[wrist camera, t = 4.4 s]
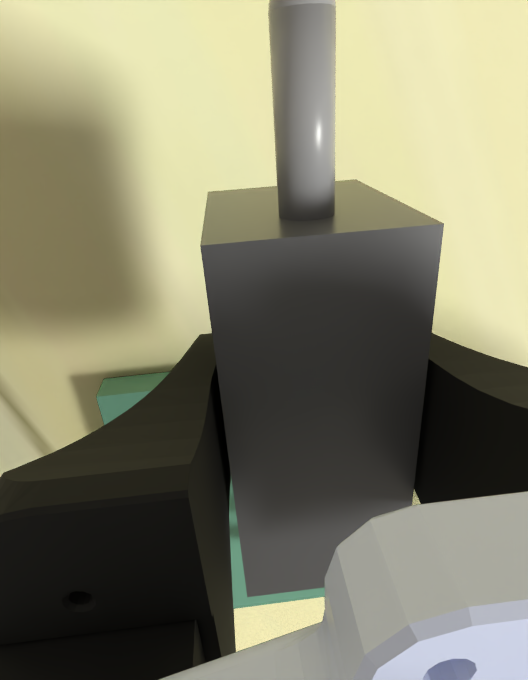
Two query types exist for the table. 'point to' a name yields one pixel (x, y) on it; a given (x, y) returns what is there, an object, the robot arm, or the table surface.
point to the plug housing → (315, 328)
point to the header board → (131, 389)
